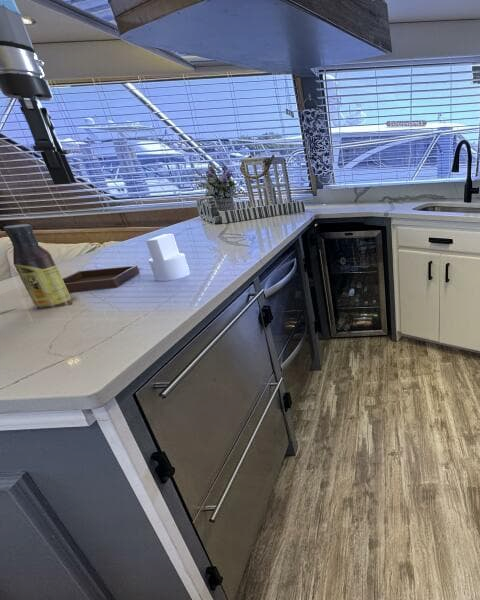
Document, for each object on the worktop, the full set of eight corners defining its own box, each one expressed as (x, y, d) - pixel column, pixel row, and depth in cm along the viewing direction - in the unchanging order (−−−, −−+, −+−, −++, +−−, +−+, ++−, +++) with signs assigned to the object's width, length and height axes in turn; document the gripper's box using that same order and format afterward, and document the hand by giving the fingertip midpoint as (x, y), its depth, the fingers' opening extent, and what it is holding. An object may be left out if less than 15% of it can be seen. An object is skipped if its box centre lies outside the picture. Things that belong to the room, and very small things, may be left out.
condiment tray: (50, 294, 87) (45, 286, 86) (82, 278, 99) (78, 271, 98) (116, 287, 90) (113, 279, 89) (139, 273, 102) (137, 265, 101)
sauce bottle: (33, 311, 76) (-13, 227, 68) (66, 301, 82) (26, 222, 74) (47, 315, 74) (1, 228, 66) (80, 304, 79) (41, 223, 71)
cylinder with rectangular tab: (165, 272, 102) (152, 234, 97) (195, 270, 102) (184, 232, 98) (148, 282, 93) (133, 241, 89) (181, 279, 94) (167, 239, 89)
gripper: (35, 64, 61) (83, 183, 69) (53, 89, 78) (90, 181, 87) (-25, 58, 56) (34, 186, 65) (8, 86, 74) (51, 183, 82)
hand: (66, 183), depth 76 cm, fingers open, 13 cm apart
